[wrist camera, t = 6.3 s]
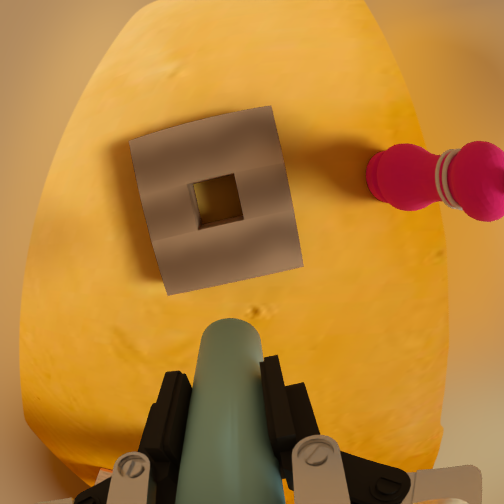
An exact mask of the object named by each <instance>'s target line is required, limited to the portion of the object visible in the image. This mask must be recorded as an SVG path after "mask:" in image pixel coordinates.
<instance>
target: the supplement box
mask: <svg viewBox="0 0 504 504" xmlns="http://www.w3.org/2000/svg"><path fill="white" fill-rule="evenodd" d="M112 473H113V470H108V469H105V468H100V471H99V473H98V476H97V479H96V482H95V485H96V484H98V483H100V482H102V481H104V480H105V479H107V478H109V477H111V476H112ZM95 485H94V486H95Z"/></svg>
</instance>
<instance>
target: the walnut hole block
mask: <svg viewBox="0 0 504 504" xmlns="http://www.w3.org/2000/svg"><path fill="white" fill-rule="evenodd" d="M129 145H130V150H131V156H132V161H133V166H134V171H135V176H136V180H137V185H138V189H139V194H140V198H141V202H142V207H143V211H144V215H145V219H146V223H147V226H148V230H149V234H150V238H151V241H152V245H153V249H154V252H155V256H156V259H157V263H158V266H159V269H160V273H161V276H162V279H163V282H164V286H165V289H166V292H167V295H168V296H169V295H174V294H179V293H184V292H189V291H194V290H199V289H203V288H208V287H213V286H218V285H223V284H227V283H232V282H237V281H241V280H246V279H250V278H255V277H260V276H264V275H269V274H273V273H278V272H282V271H286V270H291V269H295V268H299V267H304V266H303V260H302V254H301V248H300V242H299V237H298V231H297V225H296V220H295V215H294V209H293V204H292V199H291V194H290V189H289V184H288V179H287V174H286V169H285V164H284V160H283V155H282V151H281V146H280V141H279V137H278V133H277V128H276V124H275V120H274V115H273V111H272V107H271V106H265V107H259V108H253V109H247V110H242V111H237V112H232V113H227V114H222V115H218V116H213V117H209V118H205V119H201V120H197V121H193V122H189V123H185V124H181V125H178V126H174V127H171V128H167V129H164V130H161V131H157V132H154V133H151V134H148V135H145V136H142V137H139V138H136V139H133V140H130V141H129ZM233 174H234V176H235V180H236V185H237V189H238V194H239V199H240V203H241V208H242V212H243V215H242V216H237V217H233V218H228V219H224V220H219V221H215V222H211V223H206V224H202V221H201V216H200V212H199V208H198V204H197V199H196V195H195V191H194V186H193V184H195V183H199V182H203V181H207V180H211V179H215V178H220V177H224V176H228V175H233Z"/></svg>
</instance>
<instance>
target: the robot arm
mask: <svg viewBox="0 0 504 504" xmlns="http://www.w3.org/2000/svg"><path fill="white" fill-rule="evenodd" d="M259 365H260V373H261V381H262V388H263V396H264V404H265V412H266V420H267V427H268V434H269V439H270V443H271V447H272V450H273V453H274V456H275V457H276V458H277V459H278V461H279V466H280V472H281V478H282V479H285V478H286V481H287V484H288V488H289V489H290V490H292V491H294V500H295V504H481V502H482V475H481V471H480V470H479V469H478V468H477V467H475V466H473V465H463V466H456V467H448V468H440V469H427V470H417V471H416V472H413V473H406V472H405V471H403V470H401V469H398V468H395V467H391V466H387V465H384V464H380V463H377V462H373V461H370V460H367V459H363V458H360V457H357V456H354V455H351V454H348V453H345V452H342V451H340V449H339V446H338V444H337V442H336V441H335V440H334V439H332V438H330V437H328V436H324V435H320V432H319V429H318V426H317V422H316V419H315V416H314V413H313V410H312V406H311V403H310V400H309V397H308V394H307V390H306V387H305V384H304V382H302V383H298V384H294V385H289V386H285V385H284V381H283V376H282V372H281V367H280V363H279V359H278V355H274V356H269V357H264V361H263V362H259ZM191 393H192V387H191V385H190V382H189V380H188V378H187V376H186V374H182V373H181V372H180V371H171V372H166V373H165V376H164V379H163V382H162V386H161V389H160V392H159V395H158V399H157V402H156V403H153V404H152V406H151V408H150V412H149V415H148V418H147V422H146V425H145V428H144V432H143V435H142V438H141V442H140V445H139V449H138V452H128V453H126V454H123V455H122V456H120V457H119V458H118V459H117V461H116V462H115V465H114V468H113V473H112V476H111V477H109V478H107V479H105V480H104V481H102V482H100V483H98V484H96V485H95V486H93V487H91V488H89V489H87V490H85V491H83V492H81V493H80V494H79V495H77V497H76V498H75V500H74V499H73V498H66V499H60V500H53V501H45V502H39V503H36V504H175V500H176V492H177V484H178V477H179V470H180V463H181V456H182V449H183V443H184V436H185V430H186V423H187V417H188V411H189V405H190V399H191Z"/></svg>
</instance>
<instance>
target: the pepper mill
mask: <svg viewBox="0 0 504 504" xmlns="http://www.w3.org/2000/svg"><path fill="white" fill-rule="evenodd" d="M366 181H367V185H368V187H369V190H370V191H371V193H372V194H373V195H374V196H375V197H376V198H377V199H378V200H380V201H382V202H385V203H389V204H391V205H392V206H393V207H395V208H397V209H400V210H405V211H416V210H419V209H422V208H425V207H427V206H428V205H430V204H431V203H433V202H437V201H443V202H444V203H445V204H446V205H448V207H450V208H453V209H459V210H464V212H465V213H466V214H467V215H468V216H470V217H472V218H474V219H476V220H479V221H487V222H491V221H495V220H498V219H500V218H501V217H503V216H504V152H503V151H502V150H501V149H500V148H498V147H497V146H495V145H494V144H492V143H489V142H483V141H475V142H471V143H468V144H466V145H465V146H463V147H462V149H450V150H447V151H445V152H444V153H443V154H442V155H434V154H431V153H429V152H428V151H426V150H425V149H423V148H422V147H419V146H416V145H413V144H397V145H394V146H392V147H390V148H389V149H387V150H386V151H382V152H379V153H377V154H375V155H374V156H373V157H372V158H371V159H370V161H369V163H368V165H367V169H366Z"/></svg>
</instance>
